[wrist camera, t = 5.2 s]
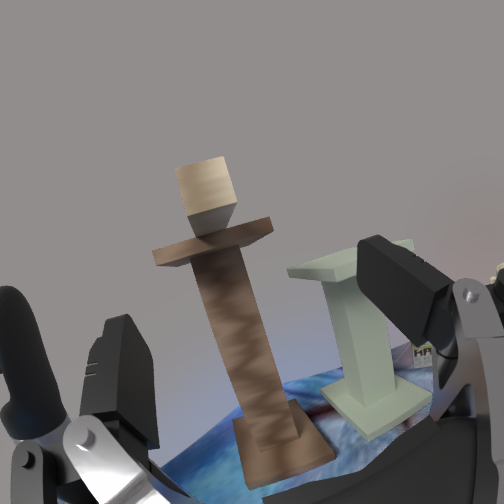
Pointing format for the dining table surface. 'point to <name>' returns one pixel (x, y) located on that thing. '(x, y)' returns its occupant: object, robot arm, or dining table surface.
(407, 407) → the low stand
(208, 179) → the wooden block
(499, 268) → the character mug
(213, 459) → the dining table surface
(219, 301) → the tall stand
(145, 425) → the robot arm
